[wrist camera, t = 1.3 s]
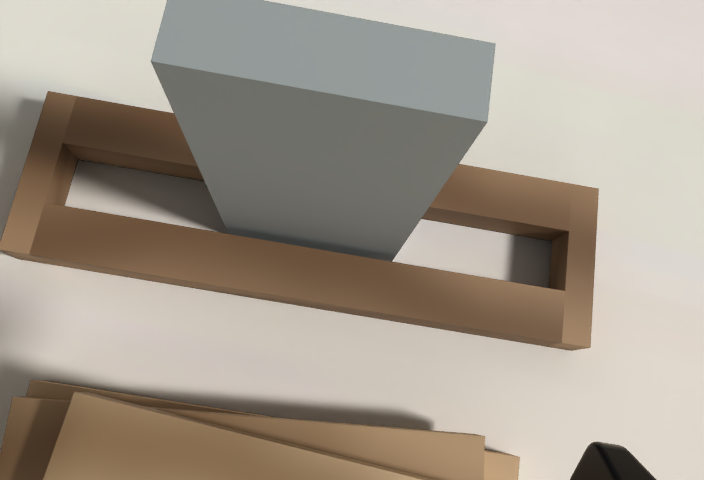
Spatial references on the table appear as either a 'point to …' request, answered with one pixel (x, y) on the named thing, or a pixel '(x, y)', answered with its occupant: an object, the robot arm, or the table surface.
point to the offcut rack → (280, 286)
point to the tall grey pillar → (320, 118)
